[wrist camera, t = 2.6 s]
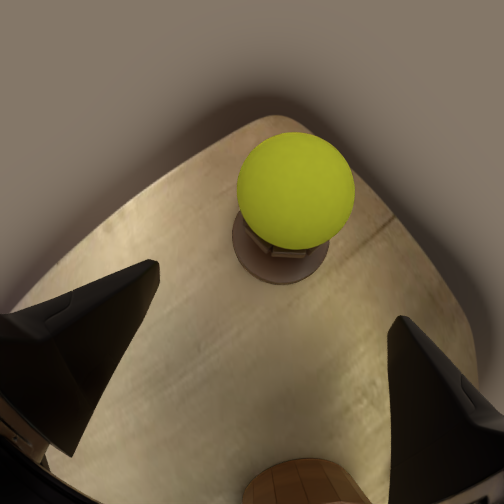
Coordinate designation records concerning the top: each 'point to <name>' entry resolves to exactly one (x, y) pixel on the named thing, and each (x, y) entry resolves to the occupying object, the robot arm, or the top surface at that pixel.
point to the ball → (295, 190)
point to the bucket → (304, 484)
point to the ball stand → (274, 256)
